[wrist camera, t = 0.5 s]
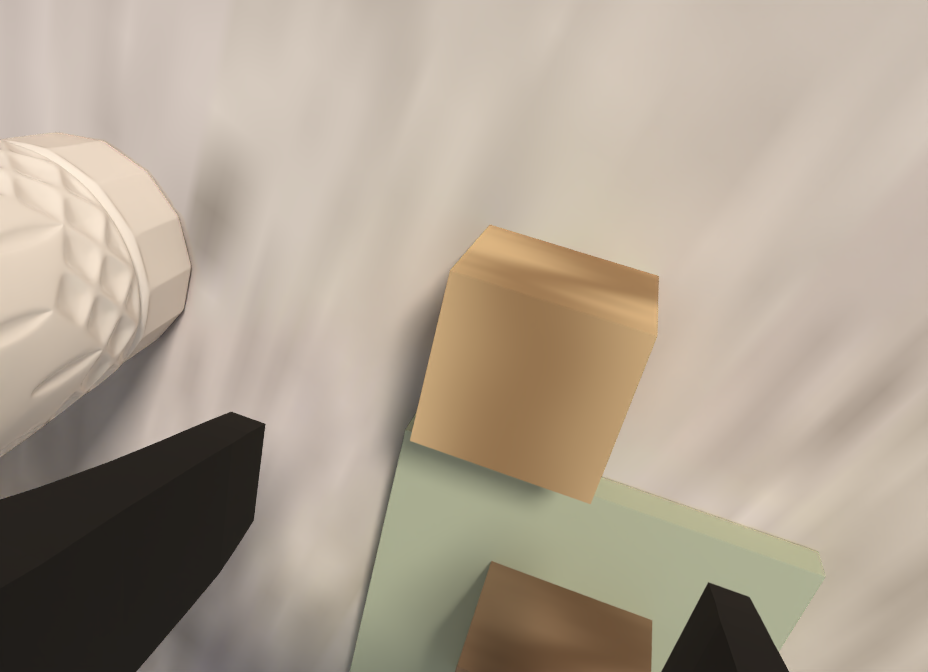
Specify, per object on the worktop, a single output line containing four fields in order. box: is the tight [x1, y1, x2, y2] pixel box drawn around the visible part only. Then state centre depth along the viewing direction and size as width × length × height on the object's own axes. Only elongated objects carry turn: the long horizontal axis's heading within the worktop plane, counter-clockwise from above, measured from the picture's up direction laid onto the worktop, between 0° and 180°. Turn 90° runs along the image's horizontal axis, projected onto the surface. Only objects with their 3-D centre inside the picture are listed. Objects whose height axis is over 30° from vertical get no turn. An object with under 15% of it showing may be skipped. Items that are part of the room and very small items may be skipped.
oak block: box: [410, 225, 659, 504], centre depth 18 cm, size 4×4×4 cm
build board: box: [350, 414, 826, 672], centre depth 23 cm, size 12×12×1 cm
